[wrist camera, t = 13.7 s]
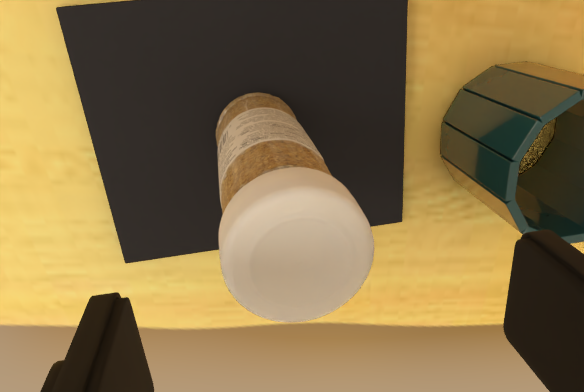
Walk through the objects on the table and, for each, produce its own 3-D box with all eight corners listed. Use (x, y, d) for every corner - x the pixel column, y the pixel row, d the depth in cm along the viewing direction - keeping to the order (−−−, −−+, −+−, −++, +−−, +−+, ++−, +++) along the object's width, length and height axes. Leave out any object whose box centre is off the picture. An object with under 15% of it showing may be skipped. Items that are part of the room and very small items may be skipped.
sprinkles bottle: (278, 181, 27) (336, 343, 15) (202, 154, 25) (196, 308, 13) (311, 108, 25) (406, 221, 13) (232, 75, 24) (257, 167, 12)
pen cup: (574, 55, 27) (685, 76, 21) (552, 181, 30) (642, 232, 24) (444, 70, 26) (518, 97, 20) (437, 198, 30) (498, 255, 23)
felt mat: (404, -24, 24) (408, -24, 23) (399, 217, 30) (402, 222, 29) (59, 6, 22) (55, 7, 21) (126, 258, 28) (125, 263, 27)
